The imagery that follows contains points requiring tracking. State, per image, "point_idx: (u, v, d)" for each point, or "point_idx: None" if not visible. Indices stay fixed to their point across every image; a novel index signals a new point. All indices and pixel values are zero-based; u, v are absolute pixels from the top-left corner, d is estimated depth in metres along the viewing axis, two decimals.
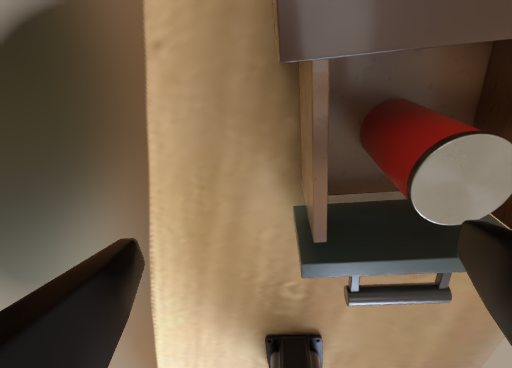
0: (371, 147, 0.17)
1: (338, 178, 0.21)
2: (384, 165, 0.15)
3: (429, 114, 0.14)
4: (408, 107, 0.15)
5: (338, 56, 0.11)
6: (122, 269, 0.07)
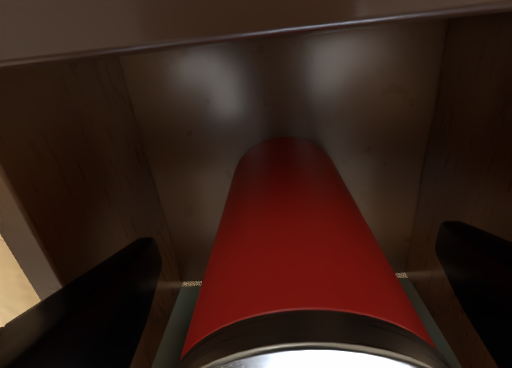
0: None
1: None
2: None
3: (287, 193, 0.06)
4: (274, 165, 0.08)
5: None
6: (142, 268, 0.07)
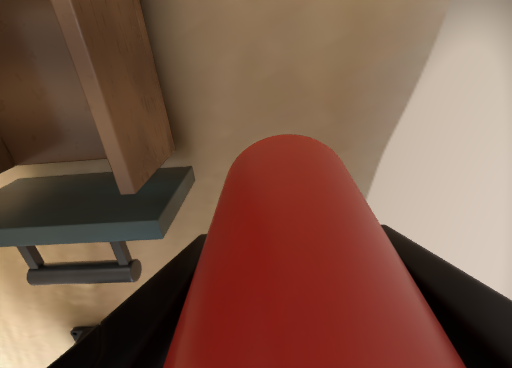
0: None
1: (30, 144, 0.19)
2: None
3: (289, 213, 0.05)
4: (273, 171, 0.06)
5: None
6: None
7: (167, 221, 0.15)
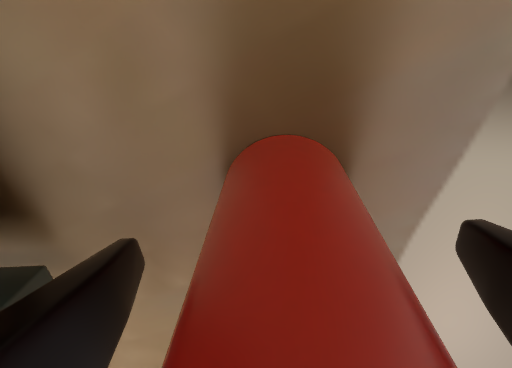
0: None
1: None
2: None
3: (286, 210, 0.05)
4: (271, 170, 0.06)
5: None
6: (122, 269, 0.07)
7: None
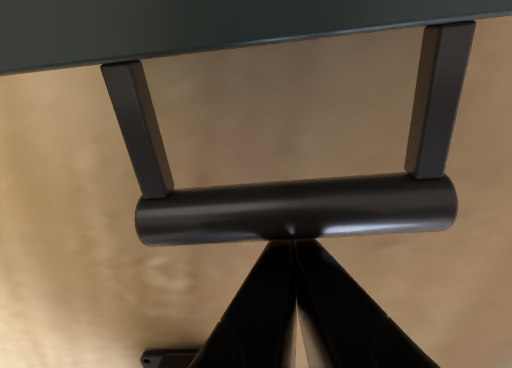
0: None
1: None
2: None
3: None
4: None
5: None
6: None
7: None
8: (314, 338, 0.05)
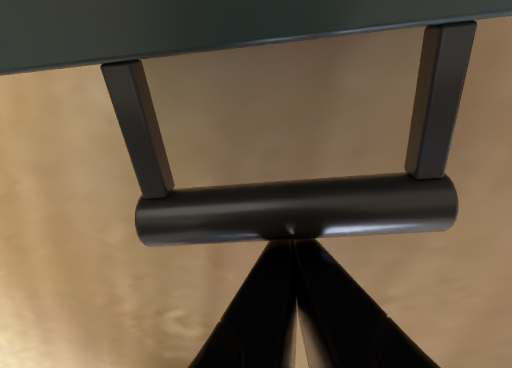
0: None
1: None
2: None
3: None
4: None
5: None
6: None
7: None
8: (314, 338, 0.05)
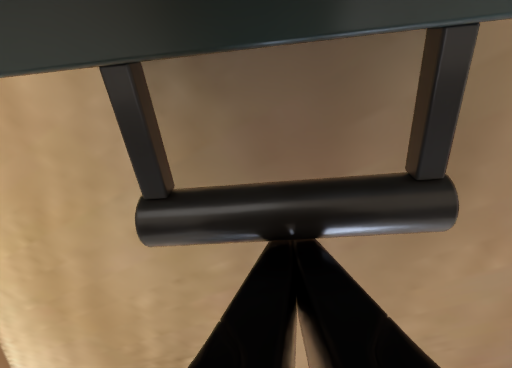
0: None
1: None
2: None
3: None
4: None
5: None
6: None
7: None
8: (314, 338, 0.05)
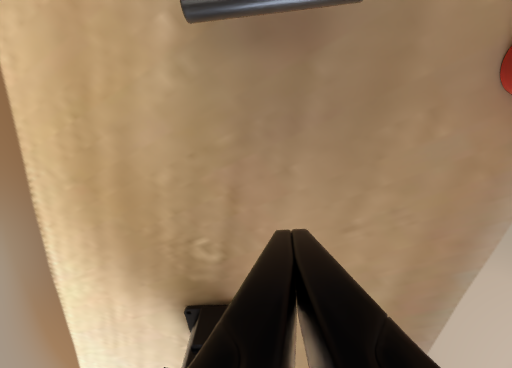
0: None
1: None
2: None
3: None
4: None
5: None
6: None
7: None
8: (314, 338, 0.05)
